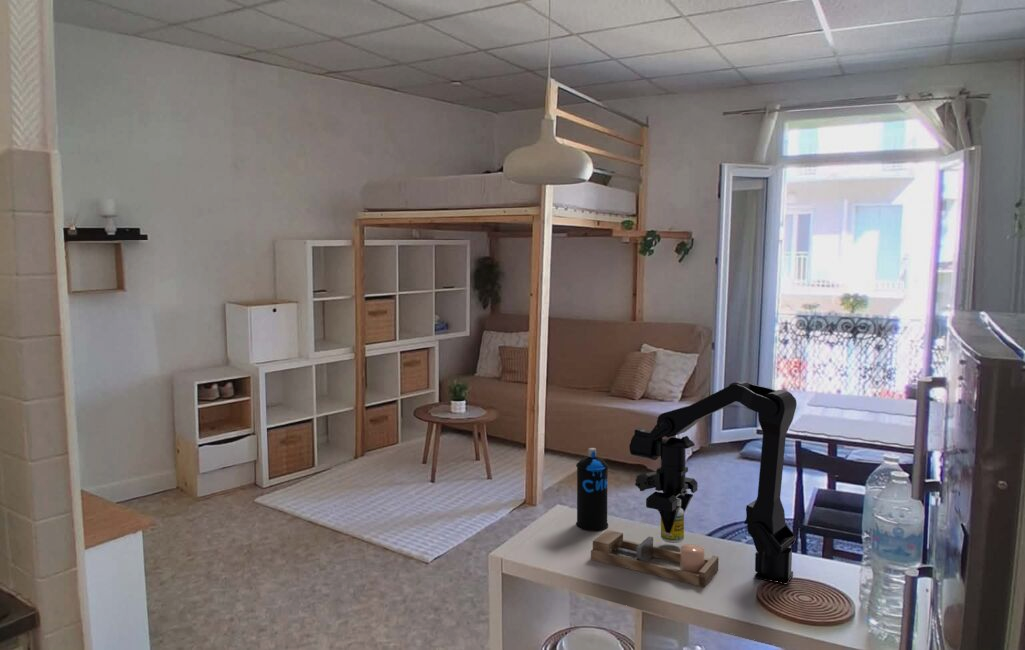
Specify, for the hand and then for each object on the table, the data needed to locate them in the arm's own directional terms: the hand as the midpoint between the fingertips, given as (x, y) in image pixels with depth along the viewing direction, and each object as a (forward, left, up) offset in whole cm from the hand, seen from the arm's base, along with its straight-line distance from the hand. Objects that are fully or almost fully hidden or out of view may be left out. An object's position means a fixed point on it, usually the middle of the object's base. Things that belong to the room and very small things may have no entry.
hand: (672, 528), depth 164 cm
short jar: (-9, +12, -4) cm, 16 cm away
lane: (0, +12, -4) cm, 13 cm away
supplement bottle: (0, 0, -3) cm, 3 cm away
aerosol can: (+22, -2, -5) cm, 23 cm away
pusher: (+5, +12, -4) cm, 14 cm away
